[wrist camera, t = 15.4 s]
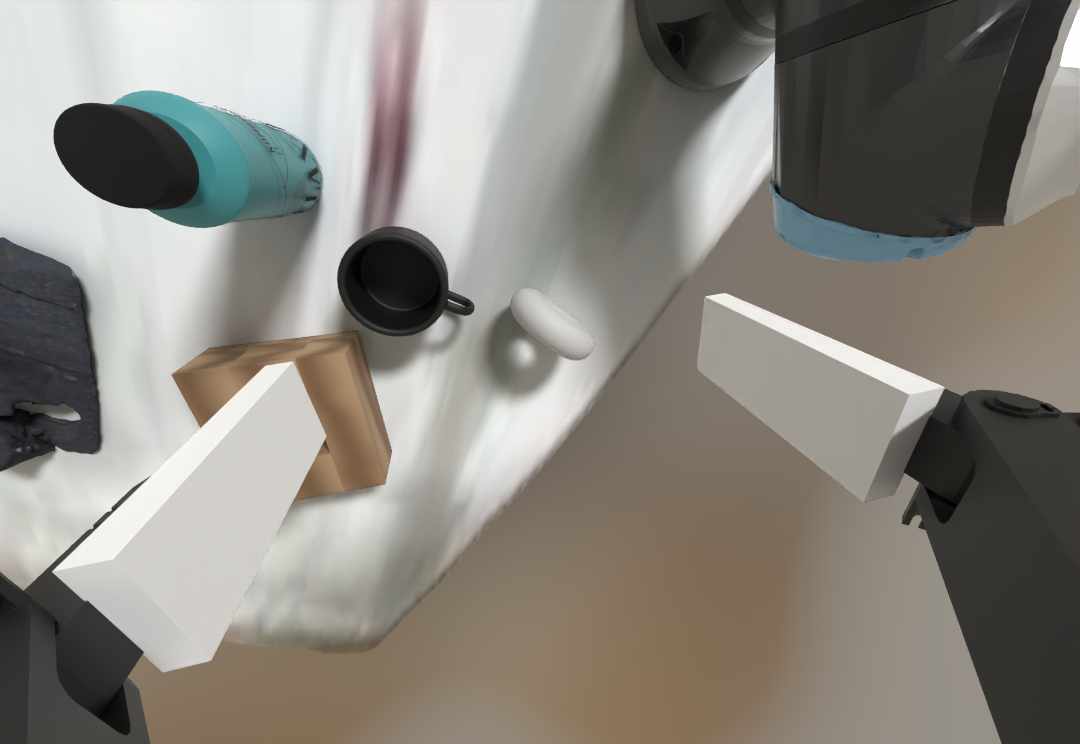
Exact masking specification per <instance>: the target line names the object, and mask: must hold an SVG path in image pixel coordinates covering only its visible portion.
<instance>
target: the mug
mask: <svg viewBox="0 0 1080 744" xmlns="http://www.w3.org/2000/svg"><path fill="white" fill-rule="evenodd" d="M337 282H338V289H339V293H340V296H341V299H342V301H343V303H344V305H345V307H346V308H347V310H348V311H349V312H350V314H351V315H352V316H353V317H354V318H355V319H356V320H357V321H358V322H360V323H361V324H362V325H364V326H365V327H367V328H369V329H371V330H372V331H375V332H377V333H380V334H384V335H389V336H409V335H413V334H416V333H419V332H421V331H423V330H425V329H427V328H428V327H430V326H431V325H432V324H433V323H435V322H436V320H437V319H438V318H439V317H440V316H441V314H442V312H443V311H444V309H446V310H448V311H450V312H453V313H456V314H459V315H464V316H467V315H470V314H472V313H473V311H474V304H473V302H472V301H470V300H469V299H467V298H465V297H463V296H461V295H458V294H456V293H454V292H451V291H449V290H448V272H447V267H446V264H445V261H444V259H443V257H442V255H441V253H440V252H439V250H438V249H437V247H436V246H435V245H434V244H433V243H432V242H431V241H430V240H429V239H427V238H426V237H425V236H423V235H422V234H420V233H418V232H416V231H413V230H411V229H408V228H403V227H384V228H380V229H377V230H374V231H372V232H370V233H368V234H367V235H365V236H364V237H362V238H361V239H359V240H358V241H356V242H355V243H354V244H353V245H352V246H351V247H349V249H348V250H347V251H346V252H345V254H344V256H343V258H342V259H341V262H340V265H339V269H338V276H337ZM447 299H450V300H452V301H454V302H457V303H459V304H461V305H463V306H465V307H463V306H460V305H457V304H454V303H452V302H449V301H448V300H447Z"/></svg>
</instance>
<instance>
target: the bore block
mask: <svg viewBox="0 0 1080 744" xmlns="http://www.w3.org/2000/svg"><path fill="white" fill-rule="evenodd" d="M286 362H294V365H295V367H296V369H297V371H298V373H299V376H300V378H301V380H302V382H303V385H304V387H305V389H306V391H307V394H308V396H309V398H310V400H311V403H312V405H313V407H314V409H315V411H316V414H317V416H318V418H319V420H320V423H321V425H322V427H323V429H324V432H325V434H326V438H325V440H324V442H323V444H322V446H321V448H320V450H319V452H318V454H317V456H316V458H315V460H314V462H313V463H312V465H311V467H310V469H309V471H308V473H307V475H306V477H305V479H304V481H303V483H302V485H301V487H300V489H299V491H298V493H297V495H296V496H295V498H294V500H293V501H296V500H302V499H307V498H313V497H318V496H324V495H329V494H335V493H340V492H346V491H351V490H357V489H362V488H367V487H373V486H378V485H384V484H385V483H386V478H387V473H388V468H389V463H390V458H391V453H392V450H391V446H390V442H389V439H388V435H387V432H386V428H385V425H384V421H383V418H382V414H381V410H380V407H379V403H378V400H377V396H376V393H375V389H374V386H373V382H372V379H371V375H370V371H369V368H368V364H367V361H366V357H365V354H364V350H363V347H362V343H361V339H360V336H359V332H358V331H354V332H346V333H337V334H328V335H319V336H311V337H302V338H293V339H284V340H276V341H267V342H258V343H250V344H241V345H232V346H223V347H215V348H209V349H207V350H206V351H205V352H203V353H202V354H200V355H199V356H197V357H196V358H194V359H193V360H192V361H190V362H189V363H187V364H186V365H184V366H183V367H182V368H180V369H179V370H177V371H176V372H174V373H173V374H172V377H173V378H174V380H175V382H176V384H177V386H178V388H179V389H180V391H181V393H182V395H183V397H184V398H185V400H186V402H187V404H188V406H189V408H190V409H191V411H192V413H193V415H194V417H195V418H196V420H197V422H198V424H199V426H200V428H201V427H202V426H204V425H205V424H206V423H207V422H208V421H209V420H210V419H211V418H212V417H213V416H214V415H215V414H216V413H217V412H218V411H219V410H220V409H221V408H222V407H223V406H224V405H225V404H226V403H227V402H228V401H229V400H230V399H231V398H233V397H234V396H235V395H236V394H237V393H238V392H239V391H240V390H241V389H242V388H243V387H244V386H245V385H246V384H247V383H248V382H249V381H250V380H251V379H252V378H253V377H254V376H255V375H256V374H257V373H258V372H259V371H261V370H262V369H263V368H264V367H265V366H267V365H273V364H280V363H286Z"/></svg>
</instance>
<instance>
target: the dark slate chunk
mask: <svg viewBox="0 0 1080 744" xmlns="http://www.w3.org/2000/svg"><path fill="white" fill-rule="evenodd" d="M80 300H81V298H80V288H79V285H78V282H77V279H76V275H75V274H74V272H73V271H72V270H71V268H70V267H68V266H67V265H65V264H62V263H60V262H58V261H56V260H54V259H52V258H50V257H47V256H44V255H42V254H39V253H36V252H33V251H31V250H28V249H26V248H24V247H21V246H18V245H16V244H14V243H12V242H10V241H9V240H7V239H5V238H0V471H3V470H6V469H8V468H10V467H13V466H15V465H17V464H19V463H21V462H24V461H27V460H30V459H32V458H35V457H37V456H42V455H44V454H46V453H49V452H52V451H55V446H57V447H59V448H60V449H62V450H65V451H75V452H79V453H88V454H92V453H94V452H95V451H96V450H97V449H98V448H99V447H100V446H99V445H98V443H97V442H98V441H99V438H98V435H99V434H98V432H97V429H96V428H97V424H98V423H97V405H98V401H97V399H96V397H95V395H96V393H97V391H96V387H95V386H94V385H93V384H95V379H94V377H93V372H92V371H91V367H90V349H89V347H88V345H87V333H86V331H85V324H84V321H83V317H84V314H83V311H82V309H81V306H80ZM30 401H32V404H36V403H37V404H39V405H44V404H46V405H49V404H52V405H55V406H57V405H60V404H61V403H66V404H67V406H69V407H72V408H74V410H75V411H76V412H77V413H78V414H79V415H80V417H81V419H80V420H76V421H69V420H65V419H58V418H53V417H50V416H48V415H45V414H42V413H36V414H30V412H27V411H24V410H20V409H15V404H16V403H20V402H30ZM51 444H54V445H51Z"/></svg>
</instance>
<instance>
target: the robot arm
mask: <svg viewBox="0 0 1080 744" xmlns="http://www.w3.org/2000/svg"><path fill="white" fill-rule="evenodd" d="M635 2H636V12H637V19H638V24H639V28H640V32H641V36H642V39H643V42H644V44H645V47H646V49H647V51H648V53H649V55H650V57H651V58H652V60H653V62H654V63H655V65H656V66H657V67H658V68H659V70H660V71H661V72H662V73H663V74H664V75H665V76H666V77H667V78H669V79H670V80H671V81H673V82H674V83H676V84H678V85H680V86H682V87H685V88H688V89H692V90H711V89H715V88H718V87H721V86H724V85H727V84H730V83H732V82H735V81H737V80H739V79H741V78H743V77H745V76H746V75H748V74H750V73H751V72H753V71H754V70H755V69H756V68H758V67H759V66H760V65H761V64H762V63H763V62H764V61H765V60H766V59H767V58H768V57H769V56H770V55H771V54H772V53H773V52H774V51H775V65H774V129H773V170H772V179H771V181H770V190H771V193H772V195H773V200H774V223H775V228H776V231H777V233H778V234H779V236H780V237H781V238H782V239H783V240H784V241H785V242H787V243H788V244H789V245H790V246H791V247H793V248H795V249H797V250H799V251H802V252H804V253H807V254H810V255H814V256H818V257H822V258H827V259H833V260H840V261H849V262H864V263H865V262H866V263H883V262H885V263H886V262H899V261H902V260H903V259H904V258H914V259H924V258H929V257H933V256H937V255H940V254H944V253H946V252H948V251H950V250H953V249H955V248H957V247H959V246H960V245H961V244H963V243H964V242H965V241H966V240H967V238H968V237H969V236H970V235H972V234H973V233H974V232H975V230H976V227H979V226H1005V225H1013V224H1017V223H1018V222H1020V221H1022V220H1024V219H1025V218H1027V217H1028V216H1030V215H1032V214H1034V213H1035V212H1037V211H1039V210H1041V209H1042V208H1044V207H1046V206H1047V205H1049V204H1051V203H1052V202H1054V201H1056V200H1058V199H1061V198H1064V197H1066V196H1069V195H1072V194H1074V193H1080V0H635ZM697 369H698V370H699V371H700V372H701V373H703V374H704V375H705V376H706V377H708V378H709V379H710V380H711V381H713V382H714V383H715V384H717V385H718V386H719V387H720V388H721V389H723V390H724V391H725V392H727V393H728V394H729V395H730V396H731V397H733V398H734V399H735V400H736V401H738V402H739V403H740V404H741V405H743V406H744V407H745V408H747V409H748V410H749V411H750V412H751V413H753V414H754V415H755V416H756V417H758V418H759V419H760V420H761V421H763V422H764V423H765V424H767V425H768V426H769V427H770V428H772V429H773V430H774V431H775V432H777V433H778V434H779V435H780V436H781V437H783V438H784V439H785V440H787V441H788V442H789V443H790V444H791V445H793V446H794V447H795V448H796V449H798V450H799V451H800V452H802V453H803V454H804V455H805V456H806V457H808V458H809V459H810V460H811V461H813V462H814V463H815V464H816V465H818V466H819V467H820V468H822V469H823V470H824V471H825V472H826V473H828V474H829V475H830V476H831V477H833V478H834V479H835V480H837V481H838V482H839V483H840V484H842V485H843V486H844V487H845V488H847V489H848V490H849V491H850V492H852V493H853V494H854V495H855V496H856V497H858V498H859V499H860V500H861V501H863V502H867V501H871V500H875V499H879V498H884V497H888V496H891V495H894V494H895V492H896V490H897V488H898V485H899V483H900V481H901V479H902V477H903V475H904V473H906V474H907V475H909V476H910V477H912V478H914V479H915V480H916V481H918V482H919V485H918V486H917V488H916V491H915V492H914V495H913V496H912V498H911V500H910V502H909V504H908V506H907V508H906V510H905V512H904V514H903V516H902V524H906V525H909V524H910V522H911V520H912V518H913V517H914V516H916V515H921V518H922V521H921V523H920V524H919V526H918V528H921V529H924V530H926V532H927V535H928V538H929V540H930V543H931V546H932V549H933V552H934V554H935V557H936V560H937V563H938V566H939V568H940V571H941V574H942V577H943V580H944V582H945V585H946V588H947V591H948V594H949V596H950V599H951V602H952V605H953V608H954V611H955V614H956V616H957V619H958V622H959V625H960V627H961V630H962V633H963V636H964V639H965V642H966V645H967V647H968V650H969V653H970V656H971V659H972V661H973V664H974V667H975V670H976V672H977V676H978V678H979V681H980V684H981V687H982V690H983V692H984V695H985V698H986V701H987V704H988V707H989V709H990V712H991V715H992V718H993V721H994V723H995V726H996V729H997V732H998V735H999V737H1000V740H1001V743H1002V744H1080V413H1063V412H1061V411H1060V410H1058V409H1057V408H1055V407H1054V406H1052V405H1050V404H1048V403H1043V402H1041V401H1039V400H1036V399H1032V398H1029V397H1025V396H1022V395H1019V394H1013V393H1008V392H1003V391H993V390H976V391H970V392H968V393H966V394H965V395H963V396H961V395H958V394H956V393H954V392H951V391H949V390H947V389H944V388H945V387H943V386H941V385H938V384H936V383H934V382H931V381H929V380H927V379H924V378H922V377H920V376H917V375H915V374H912V373H910V372H908V371H905V370H903V369H901V368H898V367H896V366H894V365H892V364H889V363H887V362H885V361H882V360H880V359H878V358H875V357H873V356H871V355H868V354H865V353H864V352H861V351H859V350H856V349H854V348H852V347H850V346H847V345H845V344H843V343H840V342H838V341H836V340H833V339H831V338H829V337H826V336H824V335H822V334H819V333H817V332H815V331H812V330H810V329H808V328H805V327H803V326H800V325H798V324H796V323H794V322H791V321H789V320H787V319H784V318H782V317H780V316H778V315H775V314H773V313H770V312H768V311H765V310H764V309H761V308H759V307H757V306H754V305H752V304H749V303H747V302H745V301H743V300H740V299H738V298H735V297H733V296H731V295H729V294H726V293H725V294H717V295H712V296H706V297H705V299H704V308H703V317H702V325H701V334H700V343H699V352H698V361H697ZM325 438H326V434H325V432H324V429H323V427H322V425H321V423H320V420H319V418H318V416H317V414H316V411H315V409H314V407H313V405H312V403H311V400H310V398H309V396H308V394H307V391H306V389H305V387H304V385H303V382H302V380H301V378H300V376H299V373H298V371H297V369H296V367H295V365H294V362H286V363H280V364H273V365H267V366H265V367H264V368H263V369H262V370H261V371H259V372H258V373H257V374H256V375H255V376H254V377H253V378H252V379H251V380H250V381H249V382H248V383H247V384H246V385H245V386H244V387H243V388H242V389H241V390H240V391H239V392H238V393H237V394H236V395H235V396H234V397H233V398H231V399H230V400H229V401H228V402H227V403H226V404H225V405H224V406H223V407H222V408H221V409H220V410H219V411H218V412H217V413H216V414H215V415H214V416H213V417H212V418H211V419H210V420H209V421H208V422H207V423H206V424H205V425H204V426H202V427H201V428H200V429H199V430H198V431H197V432H196V433H195V434H194V435H193V436H192V437H191V438H190V439H189V440H188V441H187V442H186V443H185V444H184V445H183V446H182V447H181V448H180V449H179V450H178V451H177V452H176V453H174V454H173V455H172V456H171V457H170V458H169V459H168V460H167V461H166V462H165V463H164V464H163V465H162V466H161V467H160V468H159V469H158V470H157V471H156V472H155V473H154V474H153V475H151V476H150V477H148V478H147V479H145V480H144V481H142V482H141V483H139V484H138V485H136V486H135V487H133V488H132V489H131V490H130V491H129V492H128V493H127V494H126V495H125V496H124V497H122V498H121V499H120V500H119V501H118V502H117V503H116V504H115V505H114V506H113V507H112V511H110V512H107V513H106V514H104V515H103V516H102V517H101V518H100V519H99V520H98V521H97V522H96V523H95V524H94V525H93V526H94V528H93V529H90V530H88V531H87V532H85V533H84V534H83V535H82V536H81V537H80V538H79V539H78V540H77V541H76V542H75V543H74V544H73V545H72V546H71V547H70V548H69V549H68V550H66V551H65V552H64V553H63V554H62V555H61V556H60V557H59V558H58V559H57V560H56V561H55V562H54V563H53V564H52V565H51V566H50V567H48V568H47V569H46V570H45V571H44V572H43V573H42V574H41V575H40V576H39V577H38V578H37V579H36V580H35V581H34V582H33V583H32V584H31V585H29V586H28V587H27V588H26V589H25V590H24V591H23V590H21V589H20V588H19V587H18V586H17V585H15V584H14V583H13V582H12V581H10V580H9V579H8V578H7V577H6V576H4V575H3V574H2V573H1V572H0V744H150V740H149V736H148V731H147V726H146V722H145V716H144V712H143V707H142V702H141V698H140V692H139V689H138V688H137V687H136V686H135V684H134V683H133V682H132V681H131V680H130V679H129V678H127V677H128V675H129V674H130V672H131V671H132V669H133V668H134V666H135V665H136V663H137V662H138V660H139V659H140V657H141V656H142V654H143V655H144V656H145V657H147V658H148V659H149V660H150V661H151V662H152V663H153V664H154V665H155V666H157V667H158V668H159V669H160V670H161V671H162V672H167V671H170V670H175V669H179V668H183V667H187V666H191V665H195V664H199V663H203V662H208V661H211V659H212V657H213V656H214V654H215V652H216V650H217V648H218V646H219V644H220V642H221V640H222V638H223V636H224V634H225V632H226V630H227V628H228V627H229V625H230V623H231V621H232V619H233V617H234V615H235V613H236V611H237V609H238V607H239V605H240V603H241V601H242V599H243V597H244V595H245V594H246V592H247V590H248V588H249V586H250V584H251V582H252V580H253V578H254V576H255V574H256V572H257V570H258V568H259V566H260V564H261V562H262V561H263V559H264V557H265V555H266V553H267V551H268V549H269V547H270V545H271V543H272V541H273V539H274V537H275V535H276V533H277V531H278V529H279V528H280V526H281V524H282V522H283V520H284V518H285V516H286V514H287V512H288V510H289V508H290V506H291V504H292V502H293V500H294V498H295V496H296V495H297V493H298V491H299V489H300V487H301V485H302V483H303V481H304V479H305V477H306V475H307V473H308V471H309V469H310V467H311V465H312V463H313V462H314V460H315V458H316V456H317V454H318V452H319V450H320V448H321V446H322V444H323V442H324V440H325Z"/></svg>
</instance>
